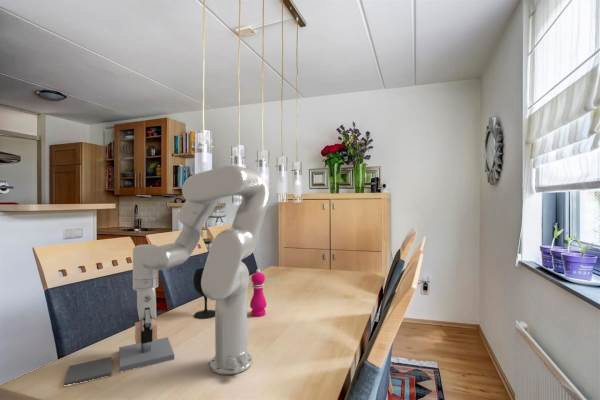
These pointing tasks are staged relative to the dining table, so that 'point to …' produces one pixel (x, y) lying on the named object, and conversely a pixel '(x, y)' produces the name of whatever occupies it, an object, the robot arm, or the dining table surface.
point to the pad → (89, 370)
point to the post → (145, 347)
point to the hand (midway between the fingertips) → (145, 338)
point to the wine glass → (197, 284)
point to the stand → (145, 354)
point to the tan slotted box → (139, 327)
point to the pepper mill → (258, 295)
